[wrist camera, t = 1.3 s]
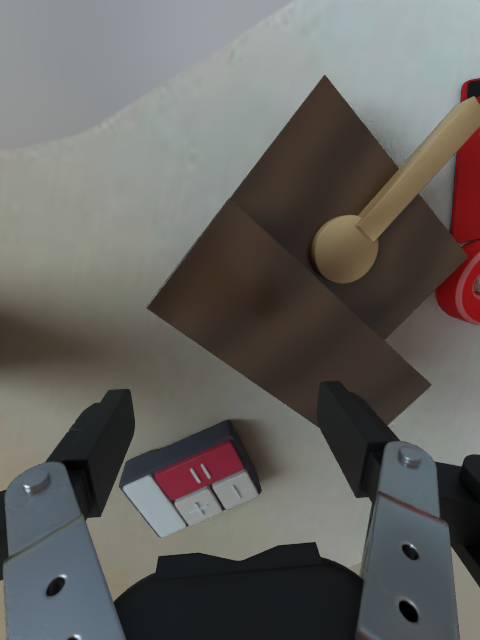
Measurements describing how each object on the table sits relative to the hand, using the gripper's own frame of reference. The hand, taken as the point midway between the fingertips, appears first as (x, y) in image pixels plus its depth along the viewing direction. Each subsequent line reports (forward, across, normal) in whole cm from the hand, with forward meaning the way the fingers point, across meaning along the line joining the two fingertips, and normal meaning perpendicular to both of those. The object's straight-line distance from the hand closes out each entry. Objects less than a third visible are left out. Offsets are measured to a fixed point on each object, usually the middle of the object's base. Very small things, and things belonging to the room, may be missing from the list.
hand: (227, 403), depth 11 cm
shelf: (+20, -9, -4) cm, 22 cm away
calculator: (+20, +4, +24) cm, 31 cm away
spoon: (+14, -13, -9) cm, 21 cm away
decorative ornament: (+20, -31, -1) cm, 37 cm away
